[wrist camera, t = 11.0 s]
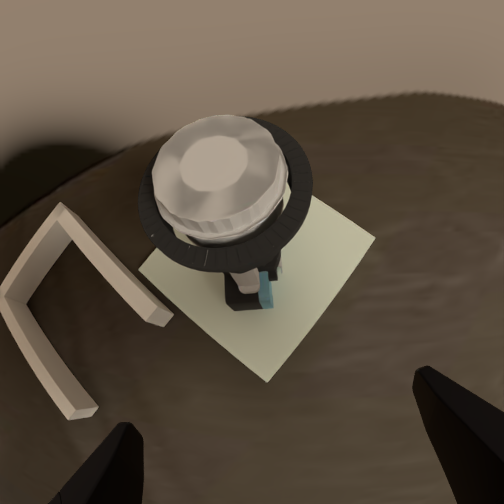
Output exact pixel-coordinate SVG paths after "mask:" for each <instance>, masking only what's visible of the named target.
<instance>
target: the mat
mask: <svg viewBox="0 0 504 504" xmlns="http://www.w3.org/2000/svg"><path fill="white" fill-rule="evenodd" d="M290 194H291V191H290V188H289V185H288V183H286V188H285V193H284V195H283V202H284V207H283V210H284V209H285V207H286V205H287V203H288V200H289V197H290ZM173 230H174V233H175V235H176V237H177V238H179V239H180V240H182V241H184V242H186V243H189V244H191V245H195V244H194V243H192V242H191V241H190V240H189V239H188V237H187V236H186V235H185V234H182V233H180V232H178V231H177V230H176V229H175V228H173ZM374 240H375V237H373V236H372V235H371V234H369V233H368V232H366V231H365V230H363V229H362V228H361V227H359V226H358V225H356V224H355V223H353V222H352V221H350V220H349V219H347V218H346V217H344V216H343V215H341V214H340V213H338V212H337V211H335V210H334V209H332V208H331V207H329V206H328V205H326V204H325V203H323V202H322V201H320V200H318V199H317V198H315V197H314V196H312V198H311V204H310V207H309V211H308V214H307V216H306V218H305V220H304V223H303V224H302V226H301V228H300V229H299V231H298V232H297V233H296V235H295V236H294V237H293V238H292V240H291V241H290V242H289V243H288V244H287V245H286V246H285V247H283V248H282V249H281V260H282V271H283V273H282V274H281V267H277V274H278V281H271V286H272V296H273V306H274V308H271V309H258V310H245V311H234V310H232V309H231V308H230V307H229V306H228V305H227V304H226V302H225V285H224V274H223V273H222V272H221V273H215V272H203V271H197V270H193V269H190V268H187V267H185V266H182V265H180V264H178V263H176V262H174V261H173V260H171V259H170V258H168V257H167V256H166V255H164V254H163V253H162V252H161V251H160V250H159V249H158V248H156V249H155V250H154V251H153V253H152V254H151V255H150V256H149V257H148V259H147V260H146V261H145V262H144V263H143V264H142V266H141V267H140V268H139V269H138V270H139V271H140V272H141V273H142V274H143V275H144V276H145V277H146V278H147V279H148V280H149V281H150V282H151V283H153V284H154V285H155V286H156V287H157V288H158V289H159V290H160V291H161V292H162V293H163V294H164V295H165V296H166V297H167V298H168V299H170V300H171V301H172V302H173V303H174V304H175V305H176V306H177V307H178V308H179V309H180V310H182V311H183V312H184V313H185V314H186V315H187V316H188V317H189V318H190V319H192V320H193V321H194V322H195V323H196V324H197V325H198V326H199V327H201V328H202V329H203V330H204V331H205V332H206V333H207V334H209V335H210V336H211V337H212V338H213V339H214V340H216V341H217V342H218V343H219V344H220V345H221V346H223V347H224V348H225V349H226V350H227V351H229V352H230V353H231V354H232V355H233V356H235V357H236V358H237V359H238V360H239V361H241V362H242V363H243V364H244V365H246V366H247V367H248V368H249V369H251V370H252V371H253V372H254V373H256V374H257V375H258V376H259V377H261V378H262V379H263V380H264V381H266V382H268V381H269V380H270V379H271V378H272V377H273V375H274V374H275V373H276V372H277V371H278V369H279V368H280V367H281V366H282V364H283V363H284V362H285V361H286V360H287V358H288V357H289V356H290V355H291V353H292V352H293V351H294V350H295V348H296V347H297V346H298V345H299V343H300V342H301V341H302V340H303V338H304V337H305V336H306V334H307V333H308V332H309V331H310V329H311V328H312V327H313V325H314V324H315V323H316V321H317V320H318V319H319V318H320V316H321V315H322V314H323V312H324V311H325V310H326V308H327V307H328V305H329V304H330V303H331V301H332V300H333V299H334V297H335V296H336V295H337V293H338V292H339V290H340V289H341V288H342V286H343V285H344V283H345V282H346V281H347V279H348V278H349V276H350V275H351V273H352V272H353V271H354V269H355V268H356V266H357V265H358V263H359V262H360V260H361V259H362V258H363V256H364V255H365V253H366V252H367V250H368V249H369V247H370V246H371V244H372V243H373V241H374ZM195 246H196V245H195Z"/></svg>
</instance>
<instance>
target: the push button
mask: <svg viewBox="0 0 504 504" xmlns="http://www.w3.org/2000/svg"><path fill="white" fill-rule="evenodd" d="M286 183H288V185H289V188H290V191H291V194H290V197H289V200H288V203H287V205H286V207H285V209H284V210H283V207H284V202H283V195H284V193H285V188H286ZM312 187H313V180H312V172H311V167H310V164H309V161H308V158H307V156H306V154H305V152H304V151H303V149H302V148H301V146H300V145H299V144H298V142H297V141H296V140H295V139H294V138H293V137H292V136H291V135H290V134H288V133H287V132H286V131H284V130H283V129H281V128H279V127H278V126H276V125H274V124H272V123H269V122H267V121H264V120H261V119H257V118H252V117H244V116H232V115H221V116H211V117H208V118H202V119H200V120H197V121H195V122H194V123H192V124H189V125H186V126H184V127H183V128H182V129H180V130H178V131H177V132H176V133H175V134H174V135H173V136H172V137H171V138H170V139H169V140H168V141H167V142H166V143H165V144H164V145H163V146H162V148H161V149H160V150H159V151H158V152H157V153H156V155H155V156H154V157H153V159H152V160H151V162H150V163H149V165H148V167H147V169H146V171H145V173H144V175H143V178H142V180H141V184H140V188H139V194H138V211H139V216H140V220H141V223H142V226H143V228H144V231H145V233H146V234H147V236H148V237H149V239H150V240H151V242H152V243H153V244H154V245H155V246H156V247H157V248H158V249H159V250H160V251H161V252H162V253H163V254H164V255H166V256H167V257H168V258H170V259H171V260H173V261H174V262H176V263H178V264H180V265H182V266H185V267H187V268H190V269H193V270H197V271H203V272H215V273H221V272H222V273H223V274H224V285H225V302H226V304H227V305H228V306H229V307H230V308H231V309H232V310H234V311H245V310H258V309H271V308H274V306H273V296H272V286H271V281H278V274H277V267H281V274H282V273H283V271H282V260H281V249H282V248H283V247H285V246H286V245H287V244H288V243H289V242H290V241H291V240H292V238H293V237H294V236H295V235H296V233H297V232H298V231H299V229H300V228H301V226H302V224H303V223H304V220H305V218H306V216H307V214H308V211H309V207H310V204H311V198H312ZM173 228H175V229H176V230H177V231H178V232H180V233H182V234H185V235H186V236H187V237H188V239H189V240H190V241H191V242H192V243H194V244H195V245H196V246H195V245H191V244H189V243H186V242H184V241H182V240H180V239H179V238H177V237H176V235H175V233H174V230H173Z"/></svg>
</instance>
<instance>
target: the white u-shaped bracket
mask: <svg viewBox="0 0 504 504" xmlns="http://www.w3.org/2000/svg"><path fill="white" fill-rule="evenodd" d="M71 240H73V241H74V242H75V244H76V245H77V246H78V247H79V248H80V250H81V251H82V252H83V253H84V254H85V256H86V257H87V258H88V259H89V260H90V262H91V263H92V264H93V265H94V266H95V267H96V269H97V270H98V271H99V272H100V273H101V274H102V275H103V277H104V278H105V279H106V280H107V281H108V282H109V283H110V284H111V285H112V287H113V288H114V289H115V290H116V291H117V292H118V293H119V294H120V295H121V296H122V297H123V299H124V300H125V301H126V302H127V303H128V304H129V305H130V306H131V307H132V308H133V309H134V310H135V311H136V312H137V313H138V314H139V315H140V316H141V317H142V318H143V319H144V320H145V321H146V322H149V323H152V324H155V325H158V326H161V327H165V325H166V324H167V323H168V322H169V320H170V319H171V318H172V317H173V316H174V313H172V312H171V311H170V310H169V309H168V308H167V307H166V306H165V305H164V304H163V303H162V302H161V301H160V300H159V299H158V298H157V297H156V296H155V295H153V294H152V293H151V292H150V291H149V290H148V289H147V288H146V287H145V286H144V285H143V284H142V283H141V282H140V281H139V280H138V279H137V278H136V277H135V276H134V275H133V274H132V273H131V272H130V271H129V270H128V269H127V268H126V267H125V266H124V265H123V264H122V263H121V262H120V261H119V259H118V258H117V257H116V256H115V255H114V254H113V253H112V252H111V251H110V250H109V249H108V248H107V247H106V246H105V245H104V244H103V243H102V242H101V240H100V239H99V238H98V237H97V236H96V235H95V234H94V233H93V232H92V231H91V230H90V228H89V227H88V226H87V225H86V224H85V223H84V222H83V221H82V219H81V218H80V217H79V216H78V215H76V214H75V213H74V212H72V211H71V210H70V209H69V208H67V207H66V206H65V205H64V204H62V203H61V202H59V204H58V205H57V206H56V207H55V209H54V210H53V211H52V212H51V214H50V215H49V216H48V217H47V219H46V220H45V221H44V223H43V224H42V225H41V227H40V228H39V229H38V231H37V232H36V233H35V235H34V236H33V238H32V239H31V240H30V242H29V243H28V245H27V246H26V247H25V249H24V250H23V252H22V253H21V255H20V256H19V258H18V259H17V261H16V262H15V264H14V265H13V267H12V268H11V270H10V271H9V273H8V275H7V276H6V278H5V279H4V281H3V283H2V284H1V286H0V312H1V314H2V316H3V318H4V320H5V322H6V324H7V326H8V328H9V330H10V332H11V333H12V335H13V337H14V339H15V341H16V343H17V344H18V346H19V348H20V350H21V351H22V353H23V355H24V356H25V358H26V360H27V361H28V363H29V365H30V366H31V368H32V370H33V371H34V373H35V374H36V376H37V377H38V379H39V380H40V382H41V383H42V385H43V386H44V388H45V389H46V391H47V392H48V394H49V395H50V397H51V398H52V399H53V401H54V402H55V404H56V405H57V406H58V408H59V409H60V410H61V412H62V413H63V414H64V416H65V417H66V418H67V420H74V419H80V418H86V417H91V416H92V415H93V414H94V413H95V411H96V410H97V409H98V408H99V406H98V405H97V404H96V403H95V401H94V400H93V399H92V398H91V397H90V395H89V394H88V393H87V392H86V391H85V389H84V388H83V387H82V386H81V384H80V383H79V382H78V380H77V379H76V378H75V377H74V375H73V374H72V373H71V371H70V370H69V369H68V367H67V366H66V365H65V363H64V362H63V360H62V359H61V358H60V356H59V355H58V353H57V352H56V350H55V349H54V348H53V346H52V345H51V343H50V342H49V340H48V339H47V337H46V336H45V334H44V333H43V331H42V329H41V328H40V326H39V325H38V323H37V321H36V320H35V318H34V317H33V315H32V313H31V312H30V310H29V308H28V307H27V305H26V304H27V302H28V300H29V299H30V297H31V296H32V294H33V293H34V291H35V290H36V288H37V287H38V286H39V284H40V283H41V281H42V280H43V278H44V277H45V275H46V274H47V273H48V271H49V270H50V268H51V267H52V266H53V264H54V263H55V262H56V260H57V259H58V258H59V256H60V255H61V254H62V252H63V251H64V250H65V248H66V247H67V246H68V244H69V243H70V242H71Z"/></svg>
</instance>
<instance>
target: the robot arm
mask: <svg viewBox="0 0 504 504" xmlns="http://www.w3.org/2000/svg"><path fill="white" fill-rule="evenodd" d="M412 389H413V393H414V396H415V399H416V402H417V405H418V408H419V411H420V414H421V417H422V420H423V423H424V426H425V429H426V432H427V434H428V436H429V439H430V441H431V443H432V445H433V447H434V450H435V452H436V454H437V456H438V459H439V461H440V463H441V465H442V468H443V470H444V472H445V475H446V477H447V480H448V482H449V484H450V487H451V489H452V492H453V494H454V497H455V499H456V502H457V504H504V412H503V411H501V410H499V409H498V408H496V407H494V406H493V405H491V404H490V403H488V402H486V401H485V400H483V399H482V398H480V397H478V396H477V395H475V394H474V393H472V392H470V391H469V390H467V389H465V388H464V387H462V386H461V385H459V384H457V383H456V382H454V381H453V380H451V379H449V378H448V377H446V376H445V375H443V374H441V373H440V372H438V371H437V370H435V369H433V368H432V367H430V366H424V367H421V368H418V369H417V370H416V371H415V375H414V380H413V386H412ZM143 483H144V454H143V437H142V435H141V434H140V433H139V431H138V430H137V429H136V428H135V427H134V425H133V424H132V423H130V422H120V423H118V424H117V425H116V426H115V428H114V429H113V430H112V431H111V432H110V433H109V435H108V436H107V437H106V438H105V439H104V440H103V442H102V443H101V444H100V445H99V446H98V447H97V448H96V450H95V451H94V452H93V453H92V454H91V455H90V457H89V458H88V459H87V460H86V461H85V462H84V463H83V465H82V466H81V467H80V468H79V469H78V470H77V471H76V473H75V474H74V475H73V476H72V477H71V478H70V479H69V481H68V482H67V483H66V484H65V485H64V486H63V488H62V489H61V490H60V492H58V493H57V494H56V495H55V497H54V498H53V499H52V500H51V501H50V502H49V503H48V504H142V495H143Z"/></svg>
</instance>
